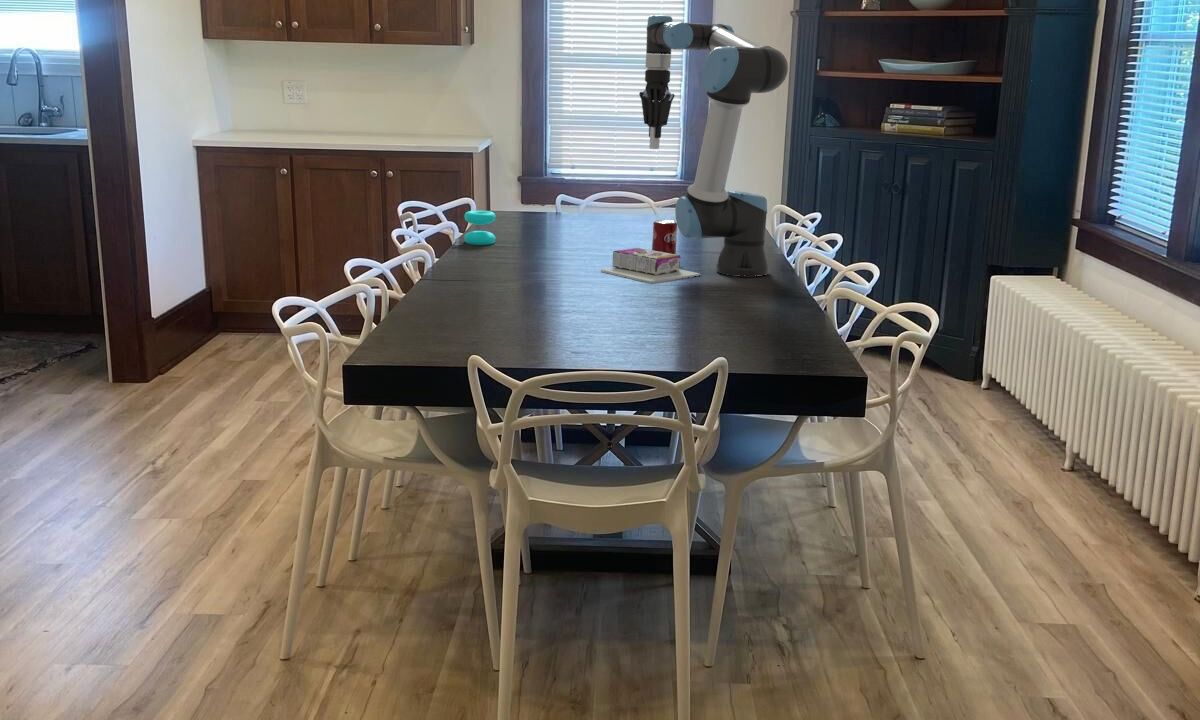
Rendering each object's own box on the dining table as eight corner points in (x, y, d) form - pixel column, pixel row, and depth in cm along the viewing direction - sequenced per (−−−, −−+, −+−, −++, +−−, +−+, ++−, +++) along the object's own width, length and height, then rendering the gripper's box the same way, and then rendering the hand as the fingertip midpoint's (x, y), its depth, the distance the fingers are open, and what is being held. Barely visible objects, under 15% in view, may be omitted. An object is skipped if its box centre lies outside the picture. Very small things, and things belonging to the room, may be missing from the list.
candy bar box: (637, 246, 330) (681, 254, 320) (636, 263, 331) (680, 271, 321) (612, 249, 322) (657, 258, 311) (611, 267, 323) (656, 276, 313)
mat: (700, 275, 318) (700, 273, 318) (650, 283, 305) (650, 281, 305) (650, 264, 332) (650, 262, 332) (601, 271, 319) (601, 269, 319)
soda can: (647, 261, 338) (649, 221, 335) (657, 258, 344) (659, 219, 341) (669, 264, 335) (671, 224, 332) (679, 260, 341) (681, 221, 338)
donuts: (466, 209, 362) (497, 210, 362) (466, 240, 365) (497, 241, 365) (462, 213, 352) (493, 214, 352) (462, 245, 355) (493, 246, 355)
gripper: (682, 70, 335) (678, 150, 341) (651, 68, 344) (647, 146, 350) (664, 69, 330) (660, 150, 336) (633, 68, 339) (630, 147, 346)
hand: (654, 148), depth 343 cm, fingers closed
